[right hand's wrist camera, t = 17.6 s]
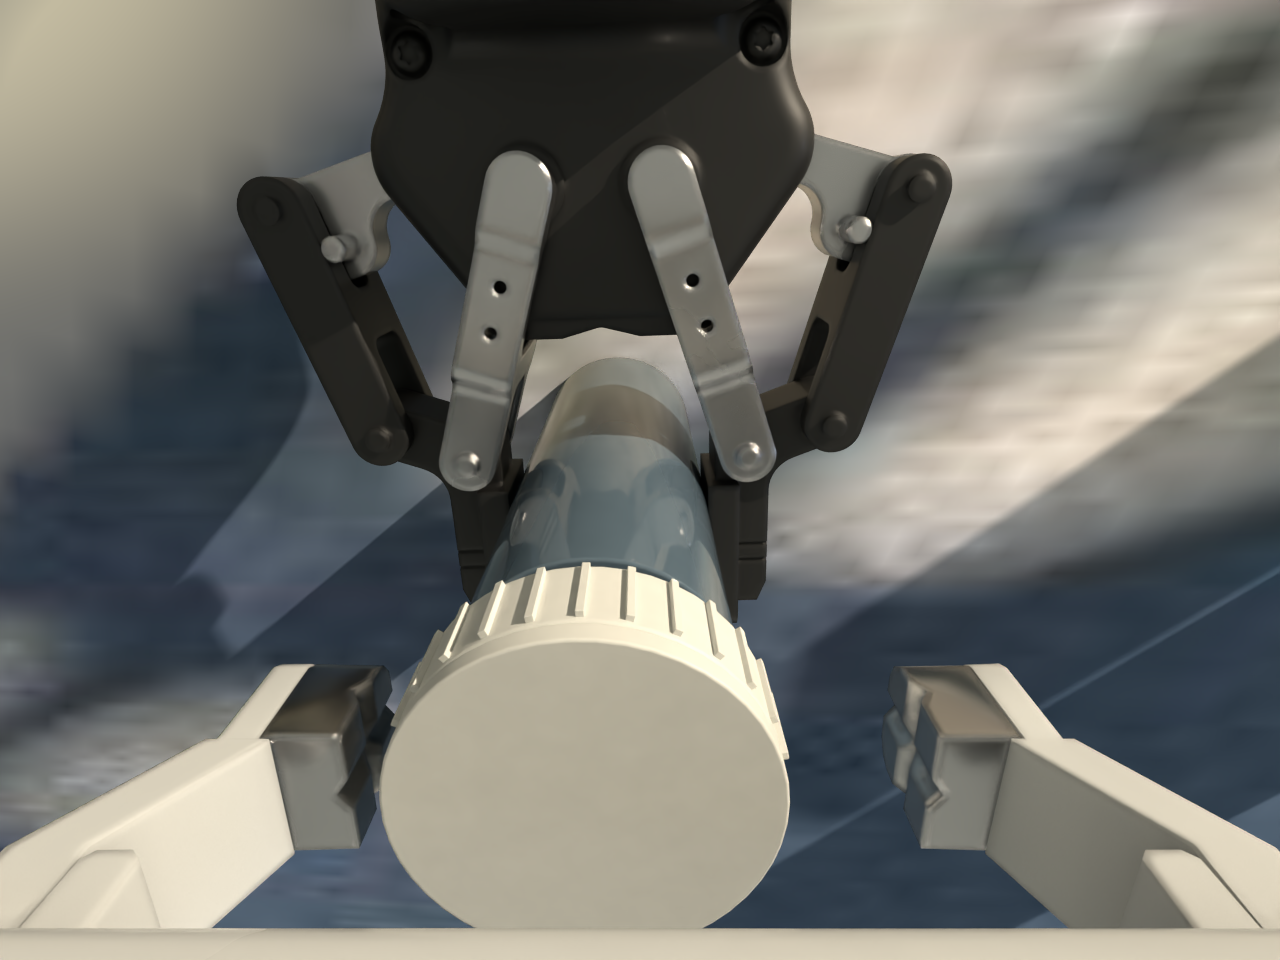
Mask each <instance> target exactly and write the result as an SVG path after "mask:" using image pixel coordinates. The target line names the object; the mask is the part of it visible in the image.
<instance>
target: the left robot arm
mask: <svg viewBox="0 0 1280 960" xmlns="http://www.w3.org/2000/svg"><path fill="white" fill-rule="evenodd" d="M791 1H792V0H375V3H376V11H377V18H378V24H379V30H380V35H381V41H382V47H383V52H384V58H385V68H386V79H385V90H384V96H383V101H382V105H381V108H380V112H379V114H378V117H377V120H376V122H375V125H374V128H373V132H372V137H371V152H368V153H365V154H363V155H360V156H357V157H355V158H352V159H349V160H347V161H344V162H341V163H339V164H336V165H333V166H331V167H328V168H325V169H323V170H320V171H317V172H315V173H312V174H309V175H307V176H304V177H301V178H284V177H256V178H253V179H251V180H249V181H248V182H246V183H245V184H244V185H243V187H242V188H241V189H240V192H239V194H238V198H237V211H238V215H239V218H240V220H241V222H242V224H243V226H244V228H245V230H246V232H247V235H248V237H249V239H250V241H251V243H252V245H253V247H254V249H255V251H256V253H257V255H258V257H259V259H260V261H261V263H262V265H263V267H264V269H265V271H266V273H267V275H268V277H269V279H270V281H271V283H272V285H273V287H274V289H275V291H276V293H277V295H278V297H279V299H280V301H281V303H282V305H283V307H284V309H285V311H286V313H287V315H288V317H289V319H290V321H291V323H292V325H293V327H294V329H295V331H296V333H297V335H298V337H299V339H300V341H301V343H302V345H303V347H304V349H305V351H306V353H307V355H308V357H309V359H310V361H311V363H312V365H313V367H314V369H315V371H316V373H317V375H318V377H319V379H320V381H321V383H322V385H323V388H324V390H325V392H326V394H327V396H328V398H329V400H330V402H331V404H332V406H333V408H334V410H335V412H336V414H337V416H338V418H339V420H340V422H341V424H342V426H343V428H344V430H345V432H346V434H347V436H348V438H349V440H350V442H351V444H352V446H353V448H354V449H355V451H356V453H357V454H358V455H359V456H360V457H361V458H362V459H364V460H365V461H367V462H369V463H371V464H374V465H380V466H387V465H391V464H394V463H396V462H397V461H398V462H402V463H405V464H408V465H412V466H415V467H419V468H422V469H425V470H427V471H430V472H431V473H433V474H435V475H436V476H437V477H438V478H440V479H441V480H442V482H443V483H444V484H445V486H446V487H447V489H448V491H449V494H450V498H451V505H452V512H453V519H454V527H455V534H456V541H457V548H458V551H459V553H458V555H459V563H460V566H461V569H460V570H461V577H462V584H463V590H464V592H465V593H466V595H467V597H468V598H469V600H470V602H471V601H472V599H473V597H474V594H475V592H476V589H477V587H478V584H479V582H480V580H481V577H482V575H483V572H484V570H485V567H486V565H487V563H488V560H489V558H490V555H491V553H492V550H493V548H494V546H495V543H496V541H497V538H498V536H499V533H500V531H501V529H502V526H503V524H504V521H505V519H506V516H507V514H508V512H509V509H510V507H511V504H512V502H513V500H514V497H515V495H516V492H517V490H518V487H519V485H520V483H521V480H522V478H523V475H524V468H523V459H512V453H511V444H510V443H511V441H512V438H513V434H514V430H515V426H516V421H517V417H518V412H519V408H520V404H521V399H522V395H523V390H524V386H525V382H526V377H527V374H528V370H529V367H530V364H531V361H532V358H533V354H534V350H535V346H536V342H537V340H539V339H563V338H566V337H569V336H573V335H576V334H579V333H582V332H586V331H589V330H592V329H595V328H599V327H603V328H608V329H612V330H617V331H621V332H625V333H629V334H634V335H638V336H653V335H677V336H678V339H679V342H680V345H681V348H682V351H683V354H684V357H685V360H686V363H687V365H688V368H689V371H690V374H691V377H692V380H693V383H694V386H695V389H696V392H697V394H698V397H699V400H700V403H701V406H702V409H703V412H704V415H705V418H706V421H707V424H708V427H709V453H700V454H701V482H702V486H703V491H704V495H705V500H706V505H707V509H708V514H709V518H710V523H711V528H712V532H713V537H714V541H715V546H716V551H717V555H718V560H719V564H720V569H721V573H722V578H723V583H724V587H725V592H726V596H727V601H728V606H729V610H730V615H731V619H732V623H737V618H738V600H756V599H757V598H758V596H759V594H760V592H761V589H762V587H763V585H764V583H765V581H766V553H767V544H766V541H767V520H768V489H769V483H770V479H771V477H772V475H773V473H774V472H775V470H776V469H777V468H778V467H779V466H780V465H781V464H782V463H783V462H785V461H787V460H788V459H790V458H793V457H795V456H798V455H801V454H803V453H806V452H809V451H811V450H814V449H819V450H821V451H824V452H837V451H841V450H844V449H846V448H847V447H849V446H850V445H852V444H853V443H854V442H855V440H856V439H857V438H858V436H859V434H860V432H861V429H862V427H863V424H864V421H865V419H866V416H867V413H868V411H869V408H870V406H871V403H872V400H873V398H874V395H875V392H876V390H877V387H878V384H879V382H880V379H881V377H882V374H883V371H884V369H885V366H886V363H887V361H888V358H889V355H890V353H891V350H892V347H893V345H894V342H895V340H896V337H897V334H898V332H899V329H900V326H901V324H902V321H903V318H904V316H905V313H906V311H907V308H908V305H909V303H910V300H911V297H912V295H913V292H914V289H915V287H916V284H917V282H918V279H919V276H920V274H921V271H922V268H923V266H924V263H925V260H926V258H927V255H928V252H929V250H930V247H931V245H932V242H933V239H934V237H935V234H936V231H937V229H938V226H939V223H940V221H941V218H942V216H943V213H944V210H945V208H946V205H947V202H948V200H949V197H950V194H951V189H952V177H951V173H950V170H949V168H948V166H947V165H946V164H945V162H944V161H943V160H941V159H940V158H939V157H937V156H935V155H932V154H926V153H922V154H903V155H896V156H889V155H886V154H882V153H879V152H875V151H872V150H868V149H865V148H861V147H858V146H854V145H851V144H847V143H844V142H840V141H837V140H833V139H830V138H826V137H823V136H819V135H816V134H814V126H813V121H812V118H811V115H810V112H809V110H808V107H807V105H806V103H805V102H804V100H803V98H802V95H801V93H800V91H799V88H798V85H797V82H796V79H795V76H794V72H793V66H792V61H791V50H790V34H791ZM797 187H799V188H800V189H802V190H803V191H804V192H805V193H806V195H807V196H808V198H809V200H810V202H811V205H812V221H811V231H810V232H811V237H812V240H813V242H814V244H815V246H816V247H817V248H818V249H819V250H820V251H821V252H822V253H824V254H826V255H829V259H828V262H827V265H826V268H825V271H824V274H823V277H822V280H821V283H820V286H819V289H818V292H817V295H816V298H815V301H814V304H813V307H812V310H811V313H810V316H809V319H808V322H807V325H806V328H805V331H804V334H803V337H802V340H801V343H800V346H799V349H798V352H797V355H796V358H795V361H794V364H793V367H792V370H791V373H790V376H789V379H788V382H787V384H785V385H783V386H780V387H778V388H775V389H772V390H770V391H767V392H765V393H762V394H759V392H758V389H757V385H756V382H755V379H754V375H753V368H752V363H751V360H750V356H749V353H748V349H747V346H746V343H745V340H744V336H743V333H742V330H741V326H740V323H739V320H738V316H737V313H736V310H735V307H734V303H733V300H732V297H731V293H730V290H729V287H728V286H729V284H730V283H731V281H732V280H733V279H734V277H735V276H736V274H737V273H738V271H739V270H740V269H741V267H742V266H743V264H744V263H745V261H746V260H747V258H748V257H749V256H750V254H751V253H752V251H753V250H754V248H755V247H756V246H757V244H758V243H759V241H760V240H761V238H762V237H763V236H764V234H765V233H766V231H767V230H768V228H769V227H770V226H771V224H772V223H773V221H774V220H775V218H776V217H777V215H778V214H779V213H780V211H781V210H782V208H783V207H784V205H785V204H786V203H787V201H788V200H789V198H790V197H791V195H792V194H793V193H794V191H795V190H796V188H797ZM395 204H396V206H397V207H398V208H399V209H400V210H401V212H402V213H403V214H404V215H405V216H406V218H407V219H408V220H409V221H410V222H411V223H412V225H413V226H414V227H415V228H416V229H417V231H418V232H419V233H420V234H421V235H422V237H423V238H424V239H425V240H426V241H427V242H428V244H429V245H430V246H431V247H432V248H433V250H434V251H435V252H436V253H437V254H438V256H439V257H440V258H441V259H442V260H443V262H444V263H445V264H446V265H447V266H448V267H449V269H450V270H451V271H452V272H453V273H454V275H455V276H456V277H457V278H458V279H459V281H460V282H461V283H462V284H463V285H464V286H465V288H466V289H467V290H466V295H465V300H464V306H463V311H462V316H461V322H460V327H459V332H458V337H457V343H456V348H455V353H454V359H453V364H452V371H451V380H452V382H453V389H452V395H451V400H450V402H448V401H445V400H441V399H438V398H435V397H433V395H432V393H431V391H430V389H429V386H428V384H427V382H426V379H425V377H424V375H423V373H422V370H421V368H420V366H419V364H418V361H417V359H416V357H415V355H414V352H413V350H412V348H411V346H410V343H409V341H408V339H407V337H406V334H405V332H404V330H403V328H402V325H401V323H400V321H399V319H398V316H397V314H396V312H395V309H394V307H393V305H392V303H391V300H390V298H389V296H388V294H387V291H386V289H385V287H384V285H383V282H382V280H381V278H380V276H379V273H378V270H380V269H381V268H382V267H383V266H384V265H385V264H386V263H387V261H388V259H389V256H390V251H391V245H390V240H389V236H388V233H387V219H388V215H389V213H390V211H391V209H392V208H393V206H394V205H395Z"/></svg>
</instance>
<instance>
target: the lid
mask: <svg viewBox="0 0 1280 960" xmlns="http://www.w3.org/2000/svg"><path fill="white" fill-rule="evenodd" d="M391 726H394V727H396V729H395V731H394V733H393V735H392V738H391V740H390V743H389V745H388V748H387V751H386V753H385V756H384V760H383V765H382V770H381V775H380V806H381V813H382V819H383V824H384V827H385V830H386V833H387V836H388V839H389V842H390V844H391V846H392V848H393V850H394V852H395V854H396V856H397V858H398V860H399V861H400V863H401V864H402V866H403V867H404V868H405V870H406V871H407V873H408V874H409V876H410V877H411V878H412V879H413V880H414V882H415V883H416V884H417V885H418V886H419V887H420V888H421V889H422V890H423V891H424V892H425V893H426V894H427V895H428V896H429V897H430V898H431V899H432V900H434V901H435V902H436V903H437V904H438V905H440V906H441V907H442V908H443V909H445V910H446V911H448V912H449V913H451V914H452V915H454V916H455V917H457V918H458V919H460V920H461V921H463V922H465V923H467V924H468V925H470V926H472V927H474V928H704V927H705V926H707V925H709V924H711V923H713V922H714V921H716V920H717V919H719V918H720V917H722V916H723V915H725V914H726V913H728V912H729V911H731V910H732V909H733V908H734V907H735V906H737V905H738V904H739V903H740V902H741V901H742V900H743V899H745V898H746V897H747V896H748V895H749V894H750V893H751V891H752V890H753V889H754V888H755V887H756V886H757V885H758V884H759V882H760V881H761V880H762V879H763V877H764V876H765V874H766V873H767V871H768V870H769V868H770V867H771V865H772V864H773V862H774V859H775V857H776V855H777V853H778V851H779V849H780V847H781V845H782V841H783V837H784V834H785V830H786V827H787V823H788V815H789V806H790V795H789V781H788V777H787V772H786V768H785V764H784V760H785V759H789V754H788V750H787V746H786V742H785V739H784V735H783V731H782V727H781V724H780V720H779V716H778V712H777V709H776V705H775V701H774V697H773V694H772V693H771V690H770V686H769V682H768V678H767V675H766V671H765V667H764V664H763V661H762V659H758V660H755V658H754V656H753V654H752V653H751V651H750V649H749V648H748V645H747V641H746V637H745V633H744V631H743V630H742V628H741V627H738V628H737V629H734V627H733V626H732V625H731V624H730V623H729V622H728V621H727V620H726V619H725V618H724V617H722V616H721V615H720V614H719V613H718V612H717V610H716V604H715V603H714V602H713V601H711V600H708V601H707V602H706V603H705V602H704V601H702V600H701V599H699V598H698V597H696V596H695V595H693V594H691V593H690V592H688V591H686V590H684V589H682V588H680V587H679V582H678V581H676V580H674V579H671V580H670V582H667V581H664V580H661V579H659V578H656V577H653V576H651V575H647V574H642V573H638V572H636V567H631V566H628V568H627V570H625V569H617V568H609V567H591V565H590V562H582V566H581V567H570V568H561V569H553V570H549V571H546V569H545V567H541V568H537V570H536V574H531V575H528V576H526V577H523V578H520V579H517V580H515V581H512V582H509V583H507V584H505V583H504V582H503V581H500V582H497V583H496V584H495V586H494V589H493V591H491V592H489V593H487V594H486V595H484V596H483V597H481V598H480V599H479V600H477V601H476V602H474V603H473V604H471V605H469V604H468V603H467V602H465V603H464V604H463V605H461V607H460V609H459V611H458V614H457V616H456V618H455V619H454V620H453V621H452V622H451V624H450V625H449V626H448V627H447V629H446V630H445V631H444V632H442V631H440V630H437V632H436V633H435V634H434V636H433V638H432V641H431V643H430V645H429V647H428V649H427V651H426V653H425V656H424V658H423V660H422V662H419V664H418V666H417V668H416V670H415V673H414V675H413V677H412V679H411V681H410V683H409V685H408V687H407V690H406V692H405V694H404V696H403V698H402V700H401V702H400V704H399V707H398V709H397V711H396V713H395V715H394V717H393V719H392V722H391Z"/></svg>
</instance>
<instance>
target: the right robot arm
mask: <svg viewBox="0 0 1280 960" xmlns="http://www.w3.org/2000/svg"><path fill="white" fill-rule="evenodd" d="M391 692H392V685H391V680H390V674H389V671H388V670H387V669H386V668H385V667H384V666H376V665H329V664H316V665H313V664H281V665H279V666H276V667H274V668H273V669H272V670H271V671H270V672H269V674H268V675H267V676H266V677H265V679H264V680H263V681H262V683H261V684H260V685H259V686H258V688H257V689H256V690H255V691H254V693H253V694H252V695H251V696H250V698H249V699H248V700H247V702H246V703H245V704H244V705H243V707H242V708H241V709H240V710H239V712H238V713H237V714H236V715H235V717H234V718H233V719H232V720H231V722H230V723H229V724H228V726H227V727H226V728H225V729H224V731H223V732H222V733H221V734H220V736H219V737H218V738H217V739H205V740H203V741H201V742H199V743H197V744H195V745H194V746H192V747H190V748H188V749H186V750H184V751H182V752H181V753H179V754H177V755H175V756H173V757H171V758H169V759H168V760H166V761H164V762H162V763H160V764H158V765H156V766H155V767H153V768H151V769H149V770H147V771H145V772H143V773H142V774H140V775H138V776H136V777H134V778H132V779H130V780H129V781H127V782H125V783H123V784H121V785H119V786H117V787H116V788H114V789H112V790H110V791H108V792H106V793H104V794H103V795H101V796H99V797H97V798H95V799H93V800H91V801H90V802H88V803H86V804H84V805H82V806H80V807H78V808H77V809H75V810H73V811H71V812H69V813H67V814H66V815H64V816H62V817H60V818H58V819H56V820H54V821H53V822H51V823H49V824H47V825H45V826H43V827H41V828H40V829H38V830H36V831H34V832H32V833H30V834H28V835H27V836H25V837H23V838H21V839H19V840H17V841H15V842H14V843H12V844H10V845H8V846H6V847H5V848H4V849H3V850H2V851H1V852H0V960H1280V852H1279V851H1278V850H1277V849H1276V848H1275V847H1273V846H1271V845H1270V844H1268V843H1266V842H1264V841H1262V840H1260V839H1259V838H1257V837H1255V836H1253V835H1251V834H1249V833H1247V832H1246V831H1244V830H1242V829H1240V828H1238V827H1236V826H1234V825H1233V824H1231V823H1229V822H1227V821H1225V820H1223V819H1221V818H1220V817H1218V816H1216V815H1214V814H1212V813H1210V812H1209V811H1207V810H1205V809H1203V808H1201V807H1199V806H1197V805H1196V804H1194V803H1192V802H1190V801H1188V800H1186V799H1184V798H1183V797H1181V796H1179V795H1177V794H1175V793H1173V792H1172V791H1170V790H1168V789H1166V788H1164V787H1162V786H1160V785H1159V784H1157V783H1155V782H1153V781H1151V780H1149V779H1147V778H1146V777H1144V776H1142V775H1140V774H1138V773H1136V772H1135V771H1133V770H1131V769H1129V768H1127V767H1125V766H1123V765H1122V764H1120V763H1118V762H1116V761H1114V760H1112V759H1110V758H1109V757H1107V756H1105V755H1103V754H1101V753H1099V752H1097V751H1096V750H1094V749H1092V748H1090V747H1088V746H1086V745H1085V744H1083V743H1081V742H1079V741H1077V740H1075V739H1063V738H1062V737H1061V736H1060V734H1059V733H1058V732H1057V731H1056V729H1055V728H1054V727H1053V726H1052V724H1051V723H1050V722H1049V721H1048V719H1047V718H1046V717H1045V716H1044V714H1043V713H1042V712H1041V710H1040V709H1039V708H1038V707H1037V705H1036V704H1035V703H1034V702H1033V700H1032V699H1031V698H1030V697H1029V695H1028V694H1027V693H1026V692H1025V690H1024V689H1023V688H1022V687H1021V685H1020V684H1019V683H1018V682H1017V680H1016V679H1015V678H1014V676H1013V675H1012V674H1011V673H1010V671H1009V670H1008V669H1007V668H1006V667H1004V666H1002V665H1000V664H972V665H963V666H894V668H893V670H892V672H891V674H890V678H889V684H888V692H889V694H890V697H891V699H892V701H893V703H894V706H893V707H892V708H891V709H890V710H889V711H888V712H887V713H886V714H885V715H884V718H883V727H882V748H883V757H884V761H885V765H886V769H887V772H888V774H889V776H890V779H891V781H892V784H894V785H895V786H896V787H898V788H899V789H900V790H902V791H903V792H904V793H906V795H905V801H904V808H903V809H904V811H905V814H906V816H907V818H908V821H909V823H910V825H911V827H912V830H913V832H914V834H915V836H916V839H917V841H918V843H919V845H920V848H925V849H961V850H986V852H985V854H987V855H988V856H989V857H990V858H991V859H992V860H993V861H994V862H995V863H997V864H998V865H999V866H1000V867H1001V868H1002V869H1003V870H1004V871H1006V872H1007V873H1008V874H1009V875H1010V876H1011V877H1012V878H1013V879H1014V880H1016V881H1017V882H1018V883H1019V884H1020V885H1021V886H1022V887H1023V888H1025V889H1026V890H1027V891H1028V892H1029V893H1030V894H1031V895H1032V896H1034V897H1035V898H1036V899H1037V900H1038V901H1039V902H1040V903H1041V904H1042V905H1044V906H1045V907H1046V908H1047V909H1048V910H1049V911H1050V912H1051V913H1053V914H1054V915H1055V916H1056V917H1057V918H1058V919H1059V920H1060V921H1061V922H1063V923H1064V924H1065V925H1066V926H1067V927H1068V928H1069V929H757V928H333V929H248V928H212V927H213V926H214V925H215V924H217V923H218V922H219V921H220V920H221V919H222V918H223V917H224V916H225V915H227V914H228V913H229V912H230V911H231V910H232V909H233V908H234V907H236V906H237V905H238V904H239V903H240V902H241V901H242V900H243V899H245V898H246V897H247V896H248V895H249V894H250V893H251V892H252V891H254V890H255V889H256V888H257V887H258V886H259V885H260V884H261V883H262V882H264V881H265V880H266V879H267V878H268V877H269V876H270V875H271V874H273V873H274V872H275V871H276V870H277V869H278V868H279V867H280V866H282V865H283V864H284V863H285V862H286V861H287V860H288V859H289V858H291V857H292V856H293V855H294V853H295V852H294V850H318V849H353V848H360V846H361V843H362V841H363V839H364V837H365V834H366V832H367V830H368V827H369V825H370V823H371V821H372V818H373V816H374V814H375V811H376V809H377V808H376V801H375V795H374V793H376V792H377V791H378V790H380V775H381V770H382V765H383V760H384V756H385V753H386V751H387V748H388V745H389V743H390V740H391V738H392V735H393V733H394V731H395V729H396V727H394V726H391V722H392V719H393V717H394V715H395V714H394V713H393V712H392V711H391V710H390V709H389V708H388V707H387V706H386V703H387V701H388V699H389V697H390V694H391Z"/></svg>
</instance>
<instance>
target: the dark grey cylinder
mask: <svg viewBox="0 0 1280 960" xmlns="http://www.w3.org/2000/svg"><path fill="white" fill-rule="evenodd" d="M582 562H590V565H591V567H609V568H617V569H625V570H627V568H628V566H631V567H636V572H638V573H642V574H647V575H651V576H653V577H656V578H659V579H661V580H664V581H667V582H670V580H671V579H674V580H676V581H678V582H679V587H680V588H682V589H684V590H686V591H688V592H690V593H691V594H693V595H695V596H696V597H698V598H699V599H701V600H702V601H704V602H705V603H706V602H707V601H708V600H711V601H713V602H714V603H715V604H716V610H717V612H718V613H719V614H720V615H721V616H722V617H724V618H725V619H726V620H727V621H728V622H729V623H730V624H731V625H732V626H733V624H732V619H731V615H730V610H729V606H728V601H727V596H726V592H725V587H724V583H723V578H722V573H721V569H720V564H719V560H718V555H717V551H716V546H715V541H714V537H713V532H712V528H711V523H710V518H709V514H708V509H707V505H706V500H705V495H704V491H703V486H702V482H701V477H700V473H699V468H698V463H697V459H696V454H695V450H694V445H693V440H692V436H691V431H690V427H689V422H688V417H687V413H686V409H685V405H684V402H683V400H682V397H681V395H680V393H679V392H678V390H677V388H676V387H675V386H674V384H673V383H672V382H671V381H670V380H669V379H668V378H667V377H666V376H665V375H664V374H663V373H662V372H660V371H659V370H657V369H656V368H654V367H652V366H651V365H648V364H646V363H644V362H641V361H638V360H634V359H628V358H608V359H603V360H598V361H595V362H593V363H590V364H588V365H586V366H584V367H582V368H580V369H579V370H578V371H576V372H575V373H574V374H572V375H571V376H570V377H569V378H568V379H567V380H566V382H565V383H564V384H563V385H562V387H561V388H560V390H559V392H558V393H557V395H556V398H555V400H554V402H553V405H552V407H551V410H550V412H549V415H548V417H547V419H546V422H545V424H544V427H543V429H542V432H541V434H540V436H539V439H538V441H537V444H536V446H535V449H534V451H533V453H532V456H531V458H530V461H529V463H528V466H527V468H526V470H525V473H524V475H523V478H522V480H521V483H520V485H519V487H518V490H517V492H516V495H515V497H514V500H513V502H512V504H511V507H510V509H509V512H508V514H507V516H506V519H505V521H504V524H503V526H502V529H501V531H500V533H499V536H498V538H497V541H496V543H495V546H494V548H493V550H492V553H491V555H490V558H489V560H488V563H487V565H486V567H485V570H484V572H483V575H482V577H481V580H480V582H479V584H478V587H477V589H476V592H475V594H474V597H473V599H472V601H471V604H473V603H474V602H476V601H477V600H479V599H480V598H481V597H483V596H484V595H486V594H487V593H489V592H491V591H493V589H494V586H495V584H496V583H497V582H500V581H503V582H504V583H505V584H507V583H509V582H512V581H515V580H517V579H520V578H523V577H526V576H528V575H531V574H536V570H537V568H541V567H545V569H546V571H549V570H553V569H561V568H570V567H581V566H582ZM471 604H470V605H471Z"/></svg>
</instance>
